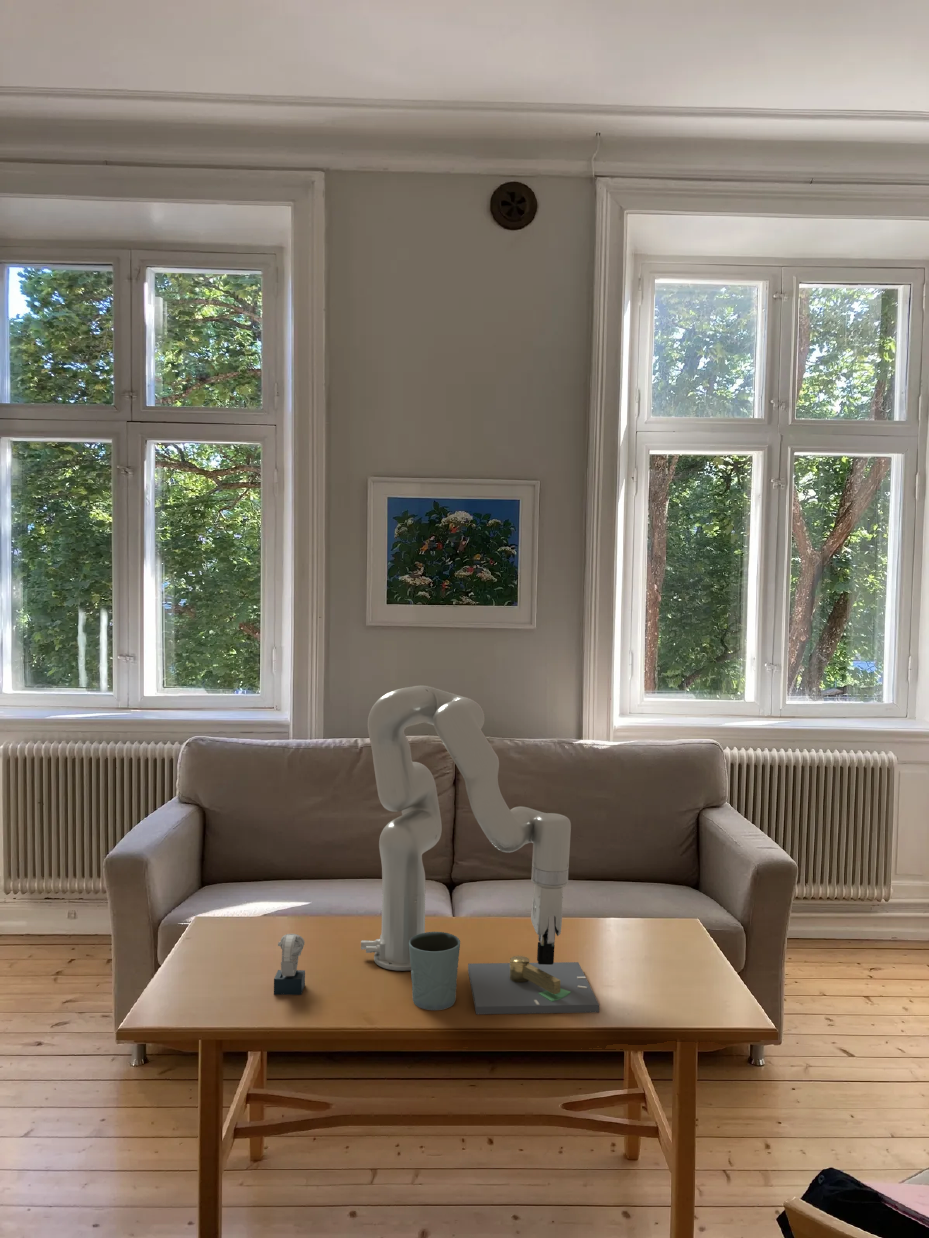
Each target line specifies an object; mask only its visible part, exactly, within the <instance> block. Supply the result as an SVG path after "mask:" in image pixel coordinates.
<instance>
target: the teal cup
mask: <svg viewBox="0 0 929 1238" xmlns="http://www.w3.org/2000/svg"><path fill="white" fill-rule="evenodd" d="M460 948H461V939H459V937H458V936H456V935H454V934H451V933H450V932H449V933H448V932H444V931H425V933H421V934H417V935H415V936H413V937H412V938H411V939H410V940H409V952H410V964H411V969H412V970H410V975H411V977H410V978H411V985H412V987H411V989H412V990H411V991H412V995H411V996H412V1001H413V1004H414V1005H415V1006H416V1007H418V1008H419V1009H423V1010H427V1011H441V1010H446V1009H449V1008H451V1007H453V1006H454V1004H455V1002H456V1001H457V1000H456V998H457V985H458V983H457V979H458V970H459V969H458V967H459V960H460V959H459V957H460Z"/></svg>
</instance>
